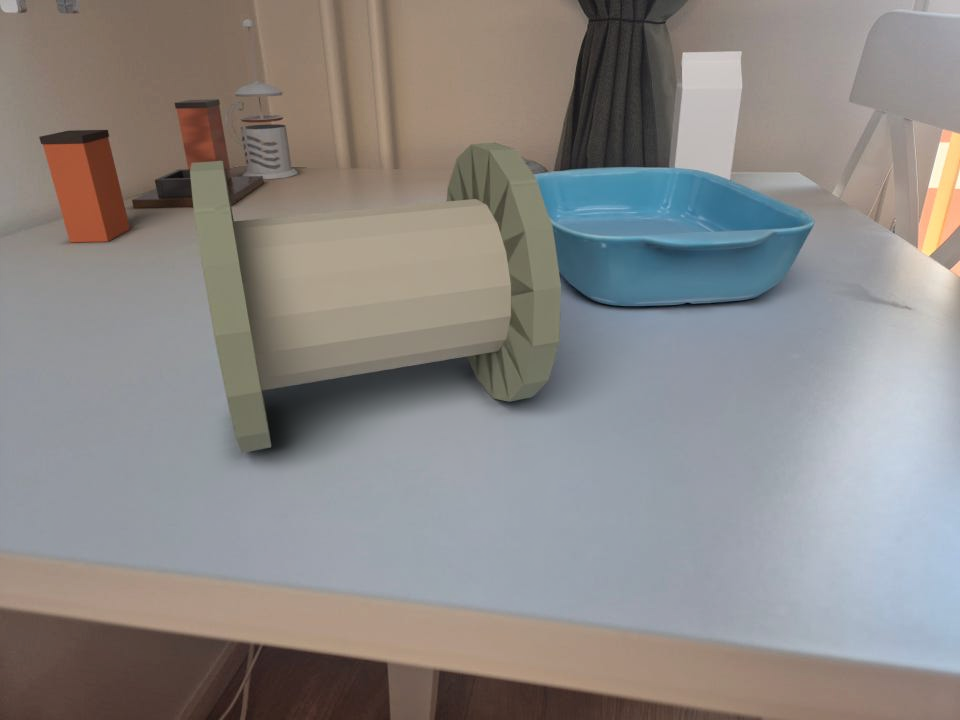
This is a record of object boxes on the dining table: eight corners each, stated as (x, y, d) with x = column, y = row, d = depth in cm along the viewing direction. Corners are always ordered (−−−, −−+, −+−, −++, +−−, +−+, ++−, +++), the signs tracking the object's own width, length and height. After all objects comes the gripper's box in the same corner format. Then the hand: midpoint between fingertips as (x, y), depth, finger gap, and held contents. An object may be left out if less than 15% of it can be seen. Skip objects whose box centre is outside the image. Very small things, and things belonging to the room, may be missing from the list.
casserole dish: (507, 223, 84) (507, 164, 81) (682, 216, 86) (688, 158, 83) (565, 338, 51) (568, 245, 48) (849, 323, 53) (869, 232, 50)
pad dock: (133, 208, 97) (110, 109, 92) (180, 185, 114) (162, 99, 108) (231, 205, 97) (214, 106, 92) (263, 183, 114) (251, 97, 108)
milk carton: (726, 210, 89) (747, 51, 81) (670, 209, 90) (685, 52, 82) (717, 199, 95) (736, 51, 87) (665, 199, 96) (679, 52, 88)
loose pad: (68, 242, 80) (38, 136, 75) (94, 230, 86) (68, 130, 81) (108, 241, 80) (81, 135, 75) (131, 229, 86) (107, 129, 81)
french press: (281, 179, 116) (258, 17, 106) (221, 178, 119) (193, 19, 108) (307, 170, 125) (289, 19, 115) (251, 169, 128) (227, 21, 117)
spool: (468, 342, 51) (462, 132, 44) (556, 440, 38) (565, 164, 32) (237, 379, 46) (193, 148, 39) (248, 506, 33) (186, 194, 27)
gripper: (42, -125, 77) (72, 13, 83) (-107, -169, 58) (-54, 11, 65) (96, -123, 76) (122, 14, 83) (-36, -168, 58) (10, 13, 64)
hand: (44, 13), depth 73 cm, fingers open, 8 cm apart
